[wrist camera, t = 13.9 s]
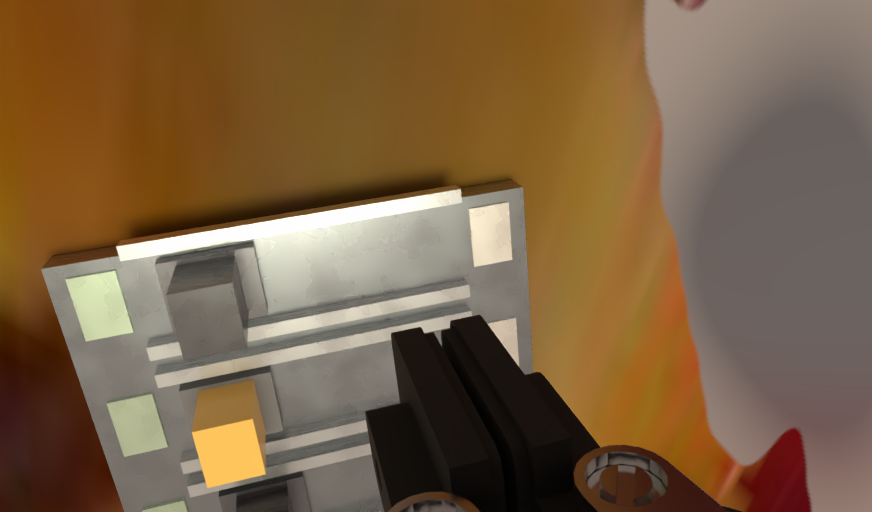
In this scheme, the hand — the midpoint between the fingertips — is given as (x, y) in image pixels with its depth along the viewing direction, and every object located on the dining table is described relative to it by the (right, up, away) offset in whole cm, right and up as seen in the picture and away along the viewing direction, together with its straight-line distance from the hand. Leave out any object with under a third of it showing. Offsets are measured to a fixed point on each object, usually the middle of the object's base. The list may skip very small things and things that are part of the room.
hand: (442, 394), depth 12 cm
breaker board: (-7, -4, +29) cm, 31 cm away
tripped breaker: (-12, -6, +26) cm, 30 cm away
